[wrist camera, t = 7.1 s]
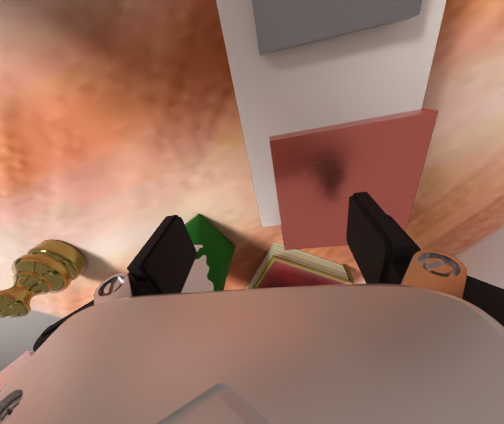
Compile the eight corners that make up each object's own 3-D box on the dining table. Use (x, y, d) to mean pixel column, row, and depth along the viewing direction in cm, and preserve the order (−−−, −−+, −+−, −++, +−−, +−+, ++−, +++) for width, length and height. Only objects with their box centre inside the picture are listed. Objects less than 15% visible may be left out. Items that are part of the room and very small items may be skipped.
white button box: (210, -99, 13) (173, -209, 8) (416, -179, 11) (535, -388, 6) (263, 197, 25) (262, 227, 20) (369, 183, 23) (397, 212, 18)
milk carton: (198, 204, 26) (71, 430, 9) (245, 247, 29) (213, 467, 13) (158, 236, 29) (14, 441, 13) (204, 271, 33) (137, 468, 16)
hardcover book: (346, 262, 30) (356, 286, 27) (284, 327, 41) (285, 350, 38) (272, 236, 29) (273, 258, 25) (228, 312, 40) (224, 334, 36)
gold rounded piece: (71, 237, 31) (-2, 296, 23) (96, 270, 35) (42, 330, 27) (29, 238, 32) (-56, 295, 23) (58, 271, 36) (-6, 329, 27)
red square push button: (269, 120, 16) (269, 140, 11) (376, 99, 15) (438, 111, 10) (280, 204, 20) (284, 250, 15) (365, 194, 19) (403, 239, 14)
